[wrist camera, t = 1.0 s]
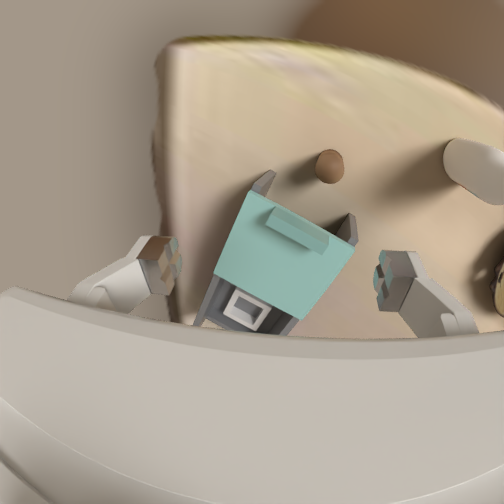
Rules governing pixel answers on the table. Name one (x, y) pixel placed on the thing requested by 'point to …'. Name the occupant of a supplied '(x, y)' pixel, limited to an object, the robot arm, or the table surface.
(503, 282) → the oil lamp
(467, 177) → the milk bottle
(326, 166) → the tan rounded cylinder
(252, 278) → the lid
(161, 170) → the table surface
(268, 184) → the housing
